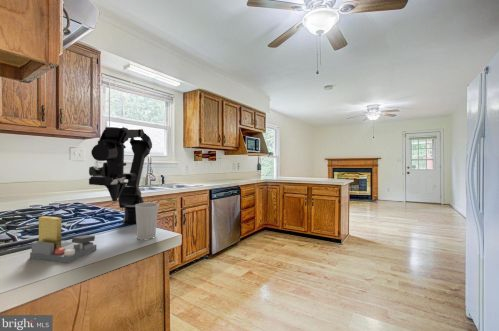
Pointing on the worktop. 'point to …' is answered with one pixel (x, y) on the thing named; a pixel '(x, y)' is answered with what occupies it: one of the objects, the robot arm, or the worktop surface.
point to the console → (61, 251)
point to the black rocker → (83, 239)
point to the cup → (146, 220)
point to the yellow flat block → (50, 230)
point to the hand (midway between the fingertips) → (114, 201)
